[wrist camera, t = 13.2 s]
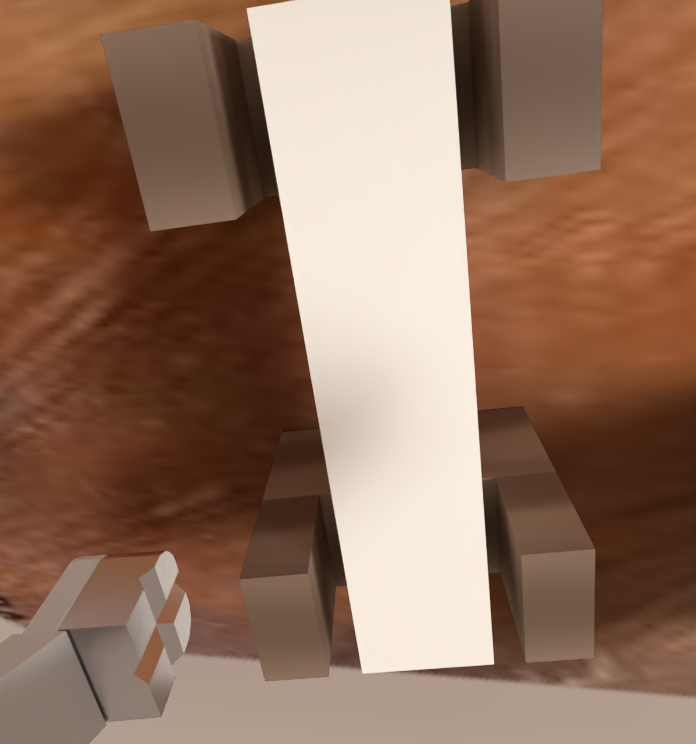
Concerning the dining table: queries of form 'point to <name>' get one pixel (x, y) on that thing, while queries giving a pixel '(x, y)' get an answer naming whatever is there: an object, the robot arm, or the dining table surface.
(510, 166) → the posts
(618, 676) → the dining table surface
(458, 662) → the rail
